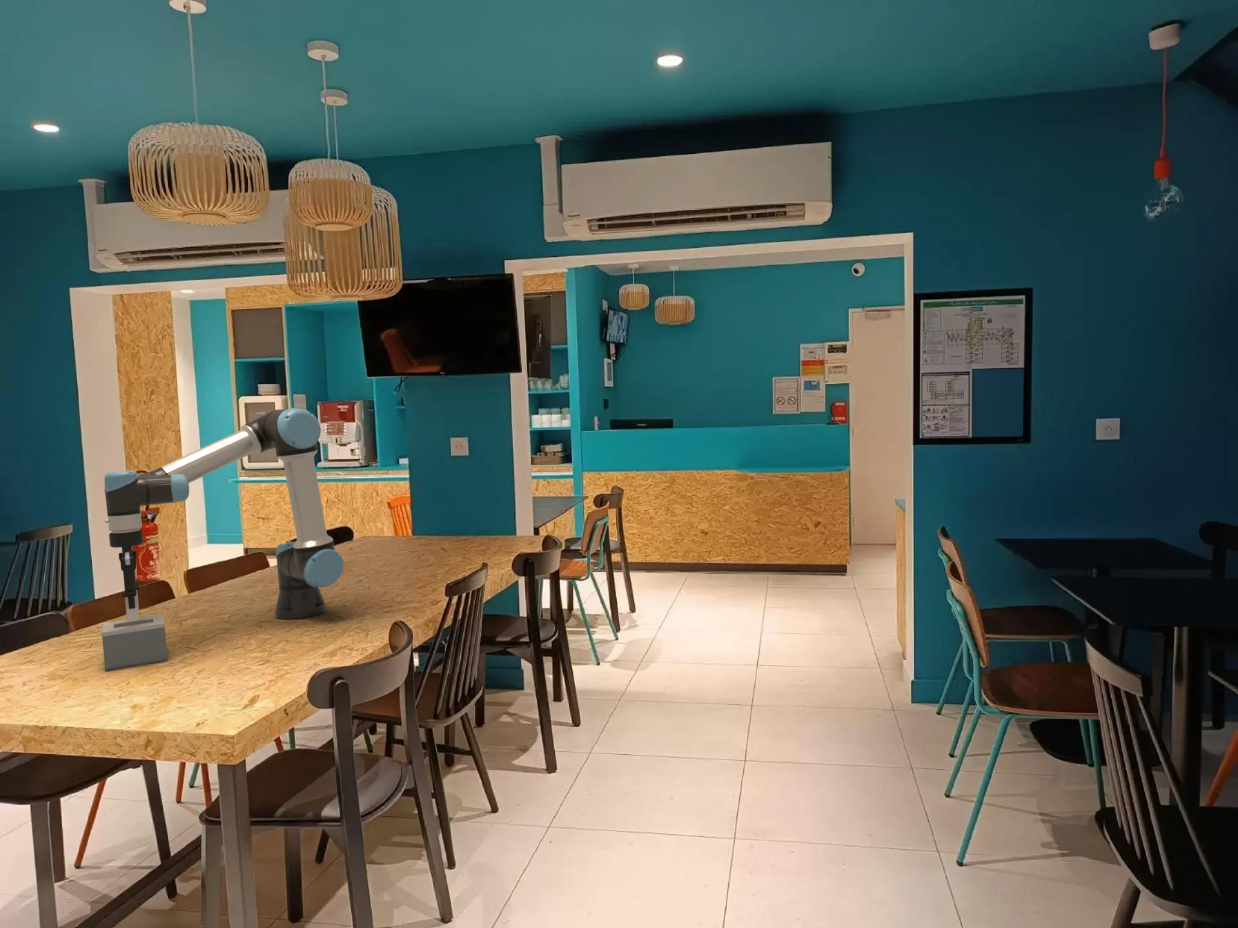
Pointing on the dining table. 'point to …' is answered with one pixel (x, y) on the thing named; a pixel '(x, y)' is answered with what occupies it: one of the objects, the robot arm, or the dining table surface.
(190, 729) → the dining table surface
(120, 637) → the box with rectangular hole
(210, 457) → the robot arm
